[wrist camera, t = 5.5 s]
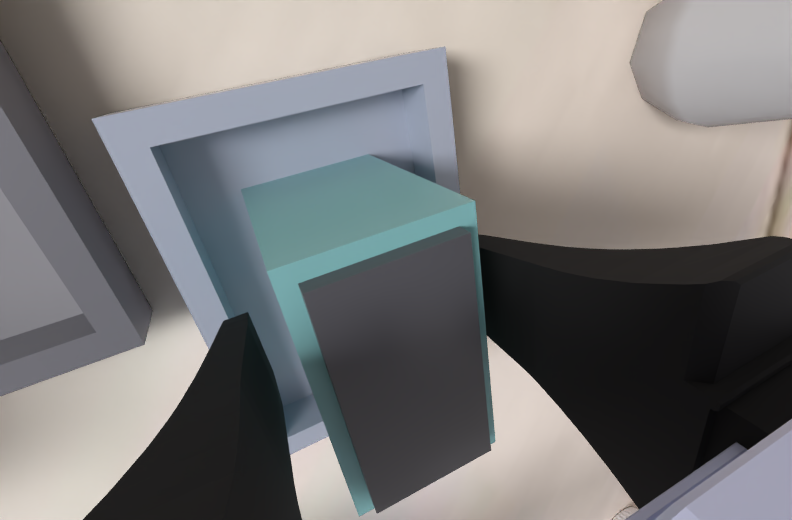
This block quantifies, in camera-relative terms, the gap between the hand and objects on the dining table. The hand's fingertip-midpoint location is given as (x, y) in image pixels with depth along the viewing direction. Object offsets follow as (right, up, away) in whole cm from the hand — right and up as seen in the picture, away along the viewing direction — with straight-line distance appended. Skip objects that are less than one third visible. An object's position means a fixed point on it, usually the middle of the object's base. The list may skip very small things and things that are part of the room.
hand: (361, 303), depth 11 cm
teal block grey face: (-1, +1, +3) cm, 3 cm away
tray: (-1, +1, +3) cm, 4 cm away
